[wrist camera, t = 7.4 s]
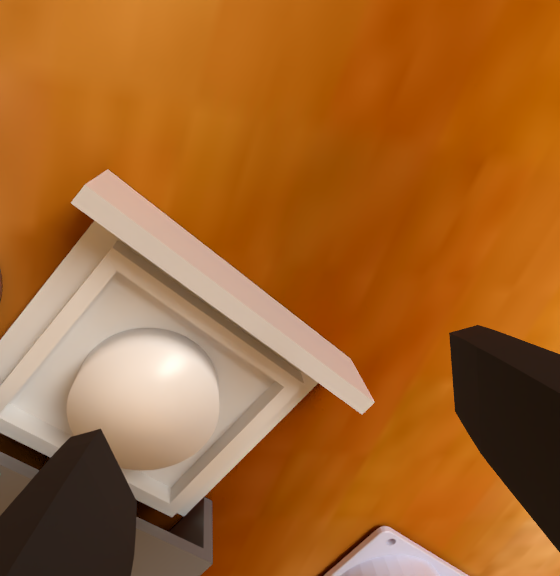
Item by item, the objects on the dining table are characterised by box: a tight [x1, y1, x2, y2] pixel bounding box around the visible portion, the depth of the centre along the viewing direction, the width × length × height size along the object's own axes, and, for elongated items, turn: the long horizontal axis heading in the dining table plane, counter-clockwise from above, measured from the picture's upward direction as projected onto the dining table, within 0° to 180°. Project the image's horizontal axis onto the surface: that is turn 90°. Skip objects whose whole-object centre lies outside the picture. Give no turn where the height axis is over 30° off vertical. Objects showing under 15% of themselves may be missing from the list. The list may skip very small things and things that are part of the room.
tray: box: [0, 170, 375, 517], centre depth 18 cm, size 13×11×3 cm
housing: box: [0, 452, 213, 576], centre depth 19 cm, size 13×11×3 cm
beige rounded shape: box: [67, 327, 219, 470], centre depth 18 cm, size 6×6×2 cm
